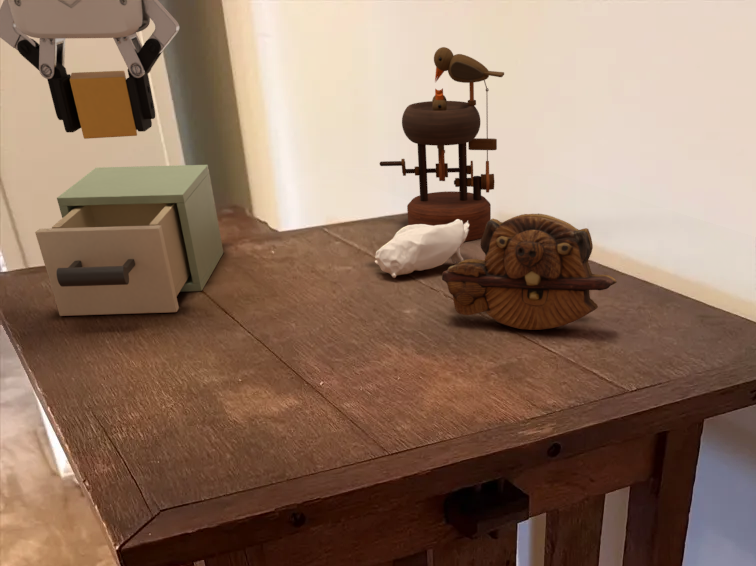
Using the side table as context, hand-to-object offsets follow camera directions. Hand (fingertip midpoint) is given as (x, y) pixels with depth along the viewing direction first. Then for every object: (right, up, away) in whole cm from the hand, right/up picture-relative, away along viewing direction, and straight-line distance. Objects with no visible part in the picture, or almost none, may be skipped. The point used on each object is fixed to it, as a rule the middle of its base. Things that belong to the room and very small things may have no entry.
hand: (109, 126), depth 80 cm
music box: (+28, +7, +36) cm, 46 cm away
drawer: (-3, -10, +13) cm, 17 cm away
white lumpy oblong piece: (+26, -4, +23) cm, 35 cm away
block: (0, 0, 0) cm, 0 cm away
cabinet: (-4, -3, +24) cm, 24 cm away
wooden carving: (+37, -15, +8) cm, 41 cm away
